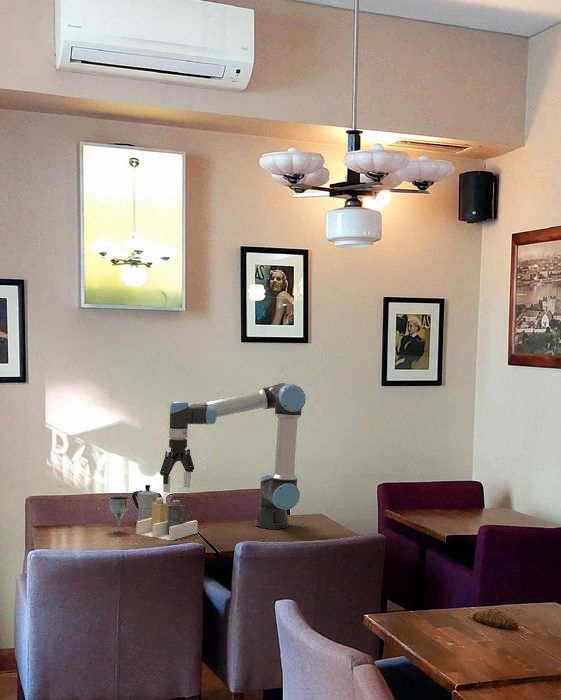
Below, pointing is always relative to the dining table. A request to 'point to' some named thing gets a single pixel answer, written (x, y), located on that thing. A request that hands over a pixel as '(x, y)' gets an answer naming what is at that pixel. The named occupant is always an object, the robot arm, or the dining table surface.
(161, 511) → the ochre peg
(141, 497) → the coffee maker
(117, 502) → the wine glass
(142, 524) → the comb rack
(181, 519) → the dark grey bottle
